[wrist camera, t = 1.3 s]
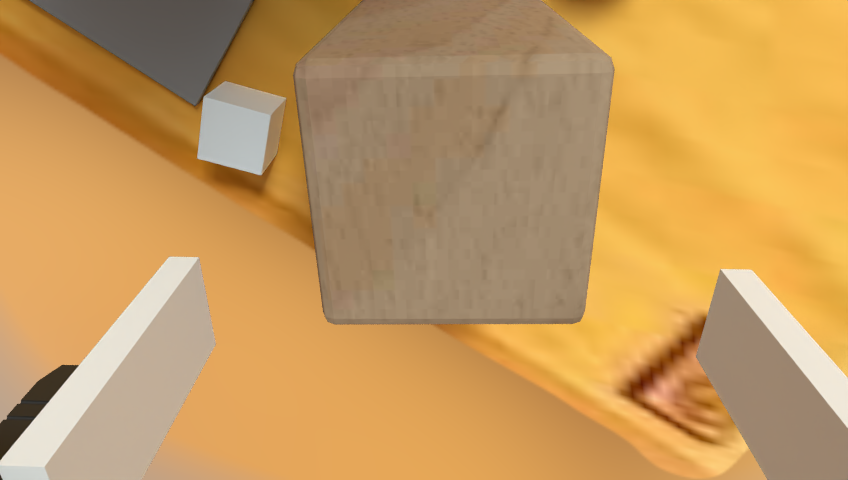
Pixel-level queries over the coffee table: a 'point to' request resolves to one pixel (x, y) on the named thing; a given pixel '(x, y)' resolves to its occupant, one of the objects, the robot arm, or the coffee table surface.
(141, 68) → the slate mat
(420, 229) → the wooden block
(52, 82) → the coffee table surface
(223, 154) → the pale blue cube
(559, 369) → the coffee table surface
